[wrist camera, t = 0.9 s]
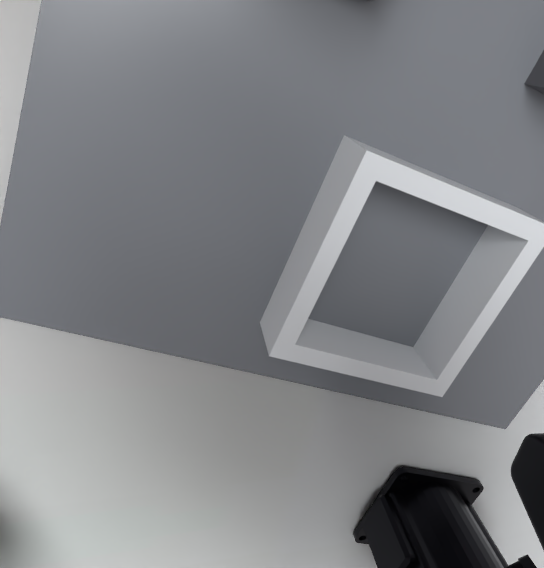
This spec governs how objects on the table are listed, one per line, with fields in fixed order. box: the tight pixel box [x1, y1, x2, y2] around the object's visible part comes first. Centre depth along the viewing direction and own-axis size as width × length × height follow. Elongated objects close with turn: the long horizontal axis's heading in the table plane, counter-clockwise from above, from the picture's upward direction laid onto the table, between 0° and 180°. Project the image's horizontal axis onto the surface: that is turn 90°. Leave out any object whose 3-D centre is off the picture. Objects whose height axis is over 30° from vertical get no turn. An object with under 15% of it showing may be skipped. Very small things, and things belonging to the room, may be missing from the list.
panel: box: [0, 0, 544, 429], centre depth 16 cm, size 27×32×4 cm
